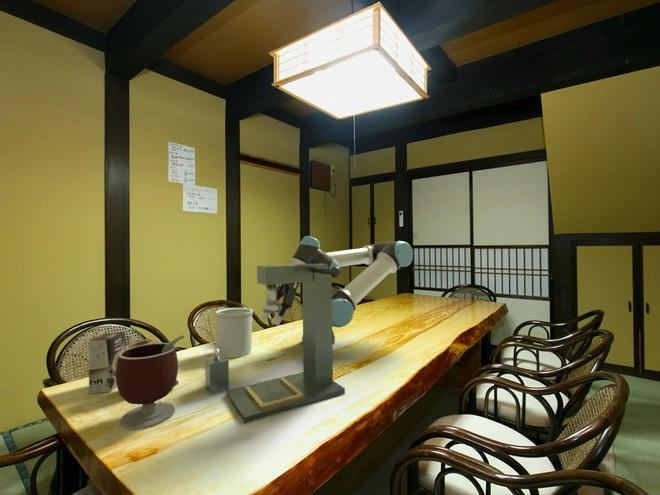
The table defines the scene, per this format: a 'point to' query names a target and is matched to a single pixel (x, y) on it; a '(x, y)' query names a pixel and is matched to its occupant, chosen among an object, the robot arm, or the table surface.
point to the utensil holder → (234, 331)
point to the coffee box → (104, 361)
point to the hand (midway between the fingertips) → (268, 322)
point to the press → (316, 345)
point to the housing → (216, 373)
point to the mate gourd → (147, 382)
